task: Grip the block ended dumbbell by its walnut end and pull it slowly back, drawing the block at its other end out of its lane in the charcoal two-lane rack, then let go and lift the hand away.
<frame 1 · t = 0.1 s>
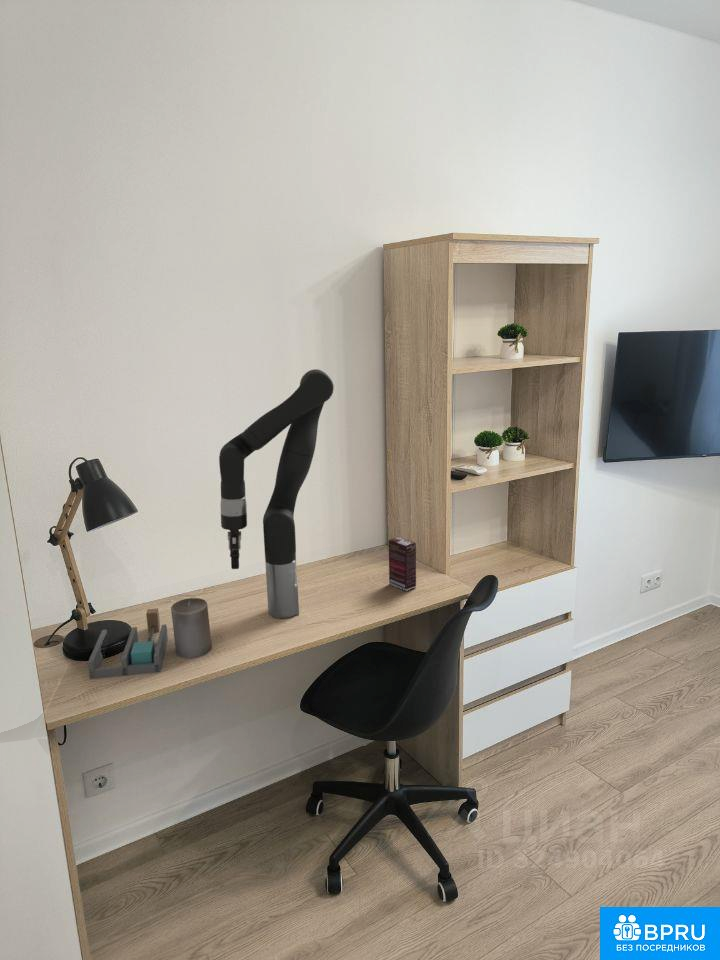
hand: (235, 563, 207), 17 cm above the table, tool pointing down, fingers open, 8 cm apart
pillar candle: (193, 651, 191), on the table
lane rack: (131, 659, 188), on the table
block ended dumbbell: (148, 637, 192), point 3 cm above the table, slide at 0.0 cm
supplement box: (402, 586, 231), on the table
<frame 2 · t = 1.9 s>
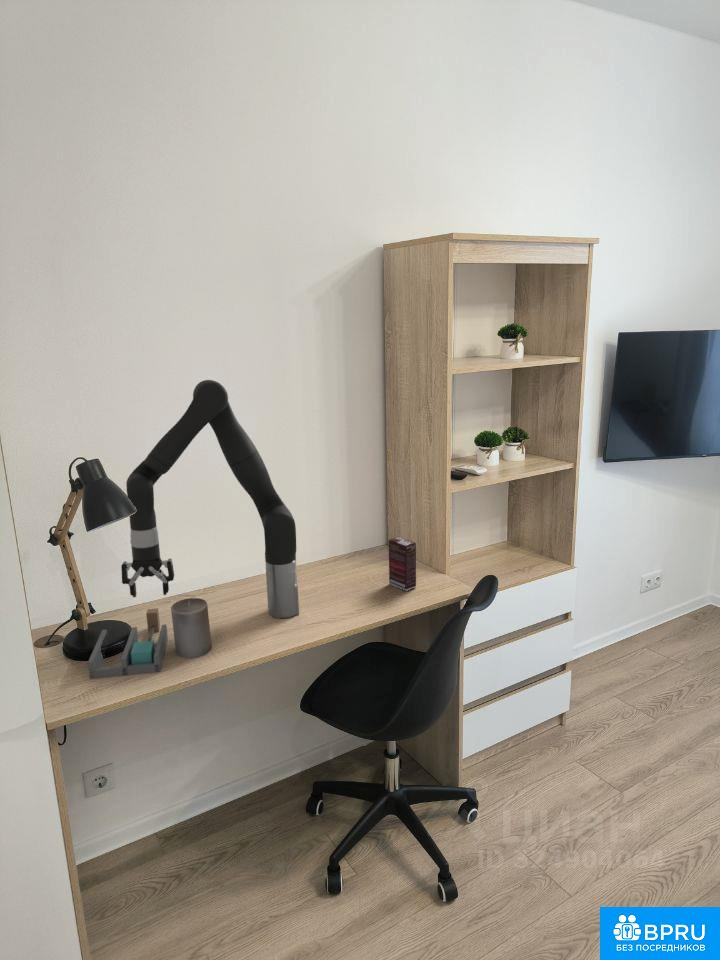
hand: (149, 595, 201), 11 cm above the table, tool pointing down, fingers open, 8 cm apart
nothing on the table moved.
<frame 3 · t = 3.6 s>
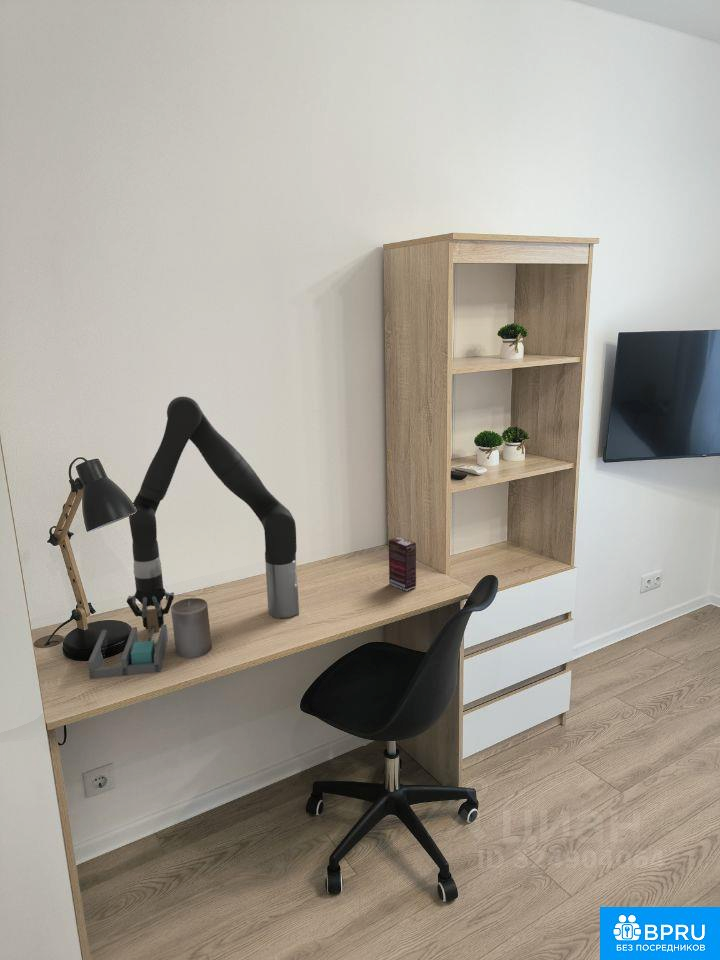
hand: (153, 627, 203), 1 cm above the table, tool pointing down, fingers closed on block ended dumbbell, 3 cm apart
block ended dumbbell: (148, 637, 192), point 3 cm above the table, slide at 0.0 cm, touching gripper
everything else where it was.
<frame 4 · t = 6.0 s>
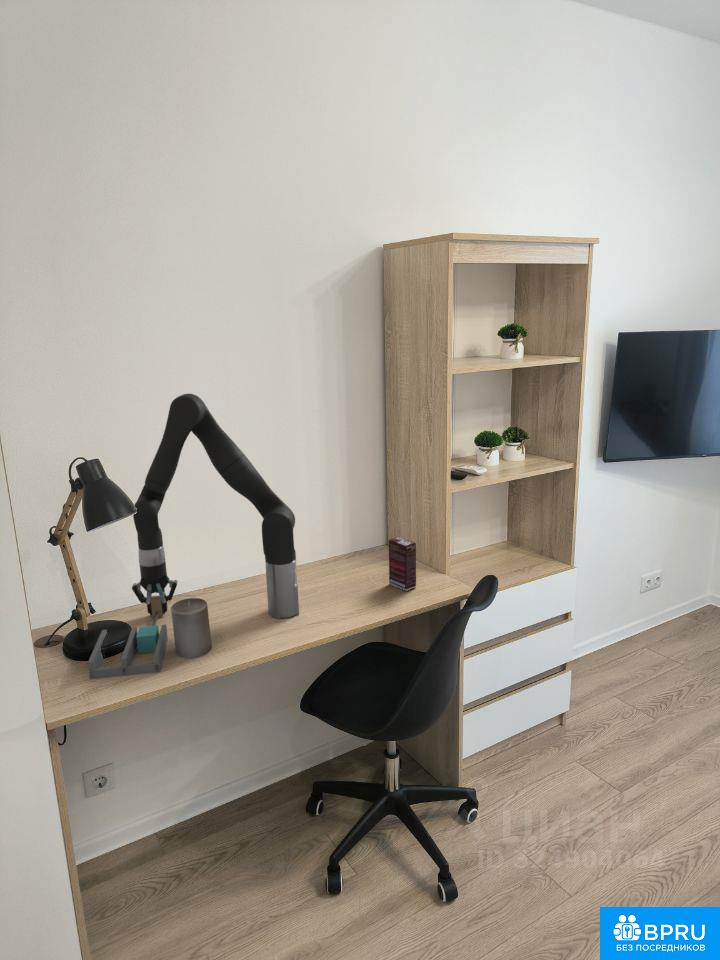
hand: (157, 613, 212), 1 cm above the table, tool pointing down, fingers closed on block ended dumbbell, 3 cm apart
block ended dumbbell: (152, 622, 201), point 3 cm above the table, slide at 9.3 cm, touching gripper
everything else where it was.
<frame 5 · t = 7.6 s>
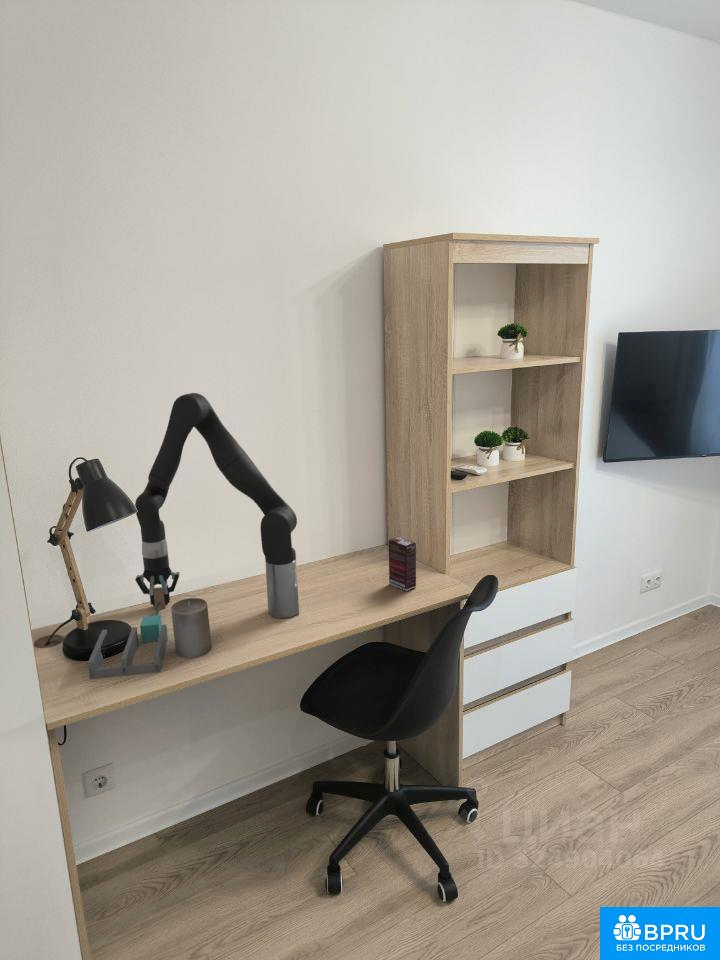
hand: (160, 604, 218), 1 cm above the table, tool pointing down, fingers closed on block ended dumbbell, 3 cm apart
block ended dumbbell: (155, 612, 207), point 3 cm above the table, slide at 15.8 cm, touching gripper
everything else where it was.
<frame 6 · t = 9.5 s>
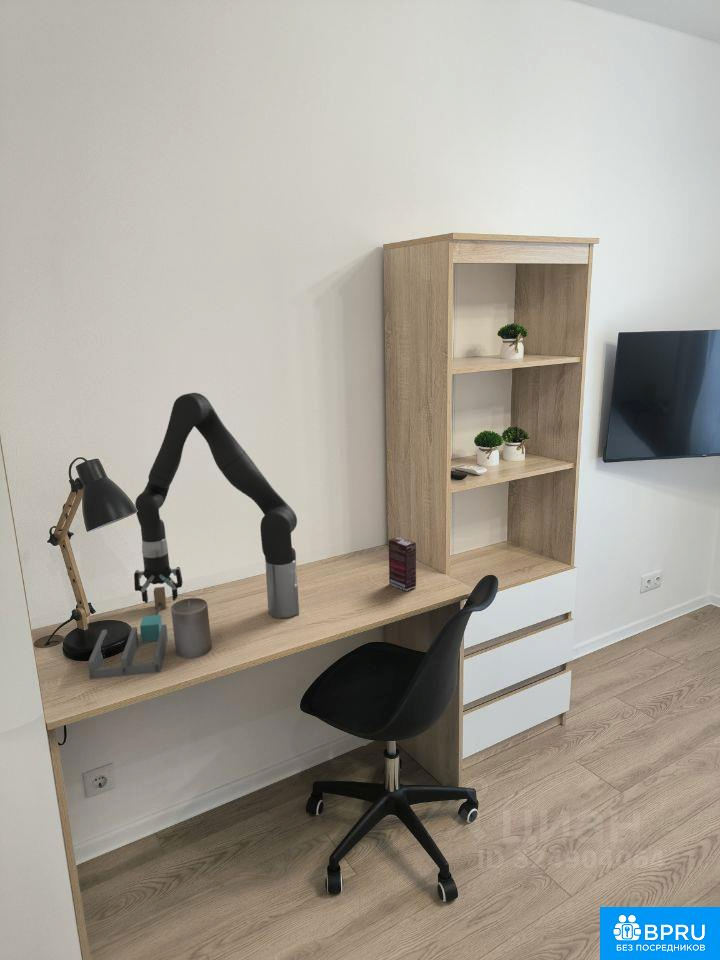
hand: (160, 600, 218), 2 cm above the table, tool pointing down, fingers open, 8 cm apart
block ended dumbbell: (155, 612, 208), point 3 cm above the table, slide at 15.9 cm
everything else where it was.
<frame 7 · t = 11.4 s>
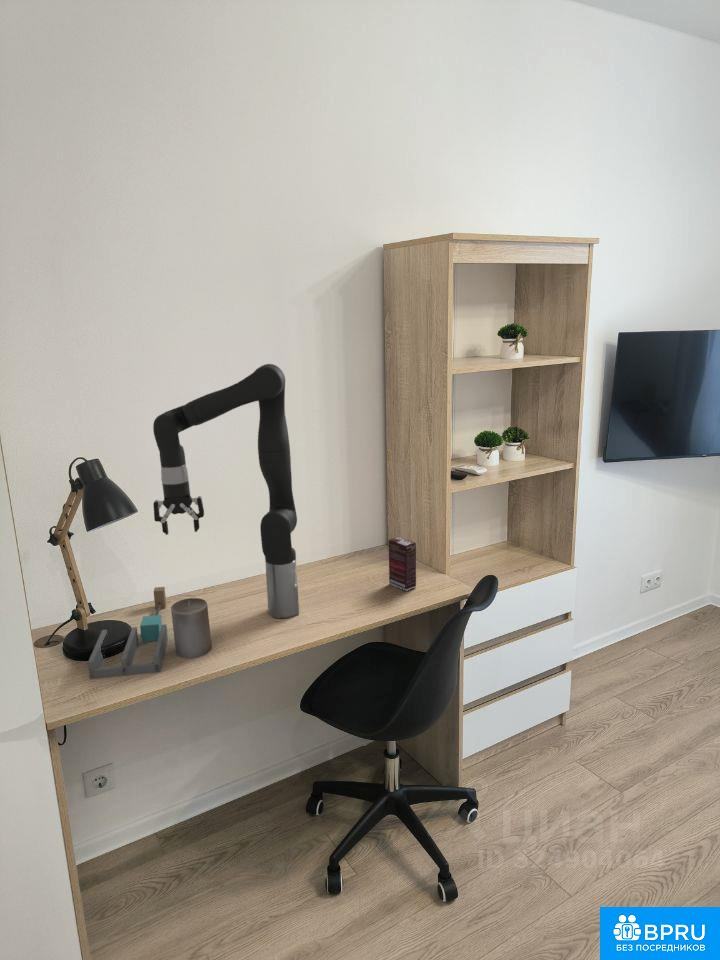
hand: (181, 532, 207), 26 cm above the table, tool pointing down, fingers open, 8 cm apart
nothing on the table moved.
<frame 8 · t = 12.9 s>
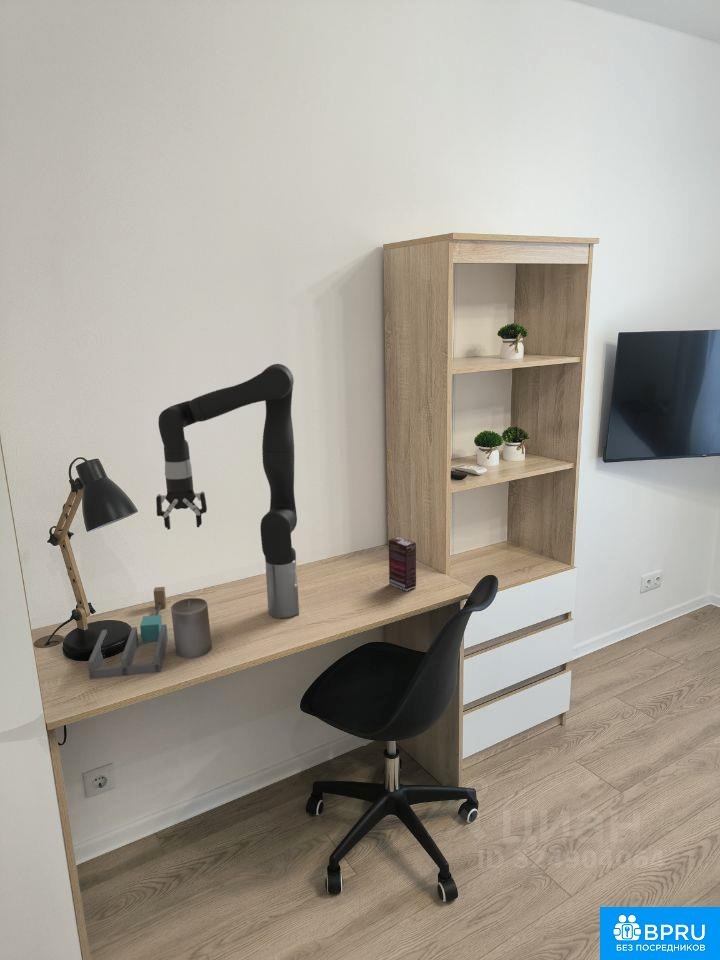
hand: (183, 527, 206), 28 cm above the table, tool pointing down, fingers open, 8 cm apart
nothing on the table moved.
at the end: block ended dumbbell slide at 15.9 cm; the gripper is holding nothing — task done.
